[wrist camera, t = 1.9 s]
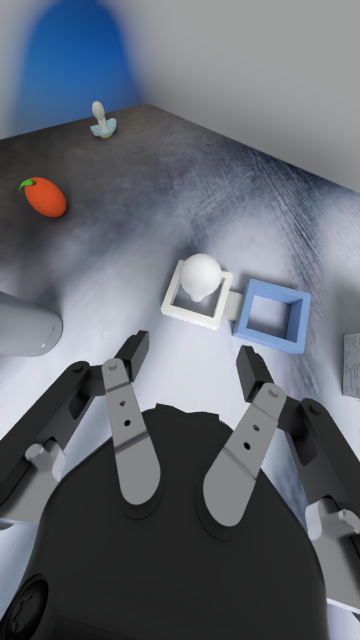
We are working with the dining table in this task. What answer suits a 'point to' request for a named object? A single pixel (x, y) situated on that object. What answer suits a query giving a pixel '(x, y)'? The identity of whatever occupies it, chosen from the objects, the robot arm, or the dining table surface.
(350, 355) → the light bulb box
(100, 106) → the pacifier
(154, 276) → the dining table surface
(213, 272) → the lightbulb
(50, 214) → the clementine
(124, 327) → the dining table surface
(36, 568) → the robot arm
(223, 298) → the socket frame
